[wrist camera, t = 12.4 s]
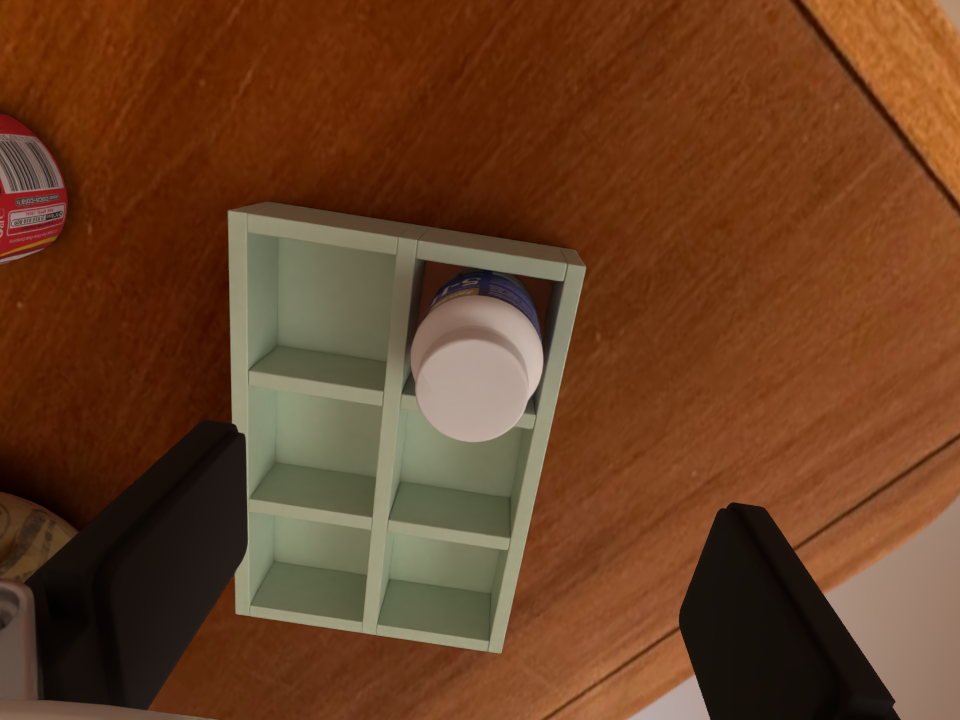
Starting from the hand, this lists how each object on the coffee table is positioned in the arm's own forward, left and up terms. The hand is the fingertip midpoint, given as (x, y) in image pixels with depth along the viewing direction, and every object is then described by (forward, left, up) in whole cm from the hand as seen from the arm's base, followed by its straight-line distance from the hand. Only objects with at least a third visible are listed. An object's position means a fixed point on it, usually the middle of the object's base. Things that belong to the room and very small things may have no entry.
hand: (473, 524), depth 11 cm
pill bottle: (0, +1, -18) cm, 17 cm away
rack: (+4, +8, -18) cm, 20 cm away
